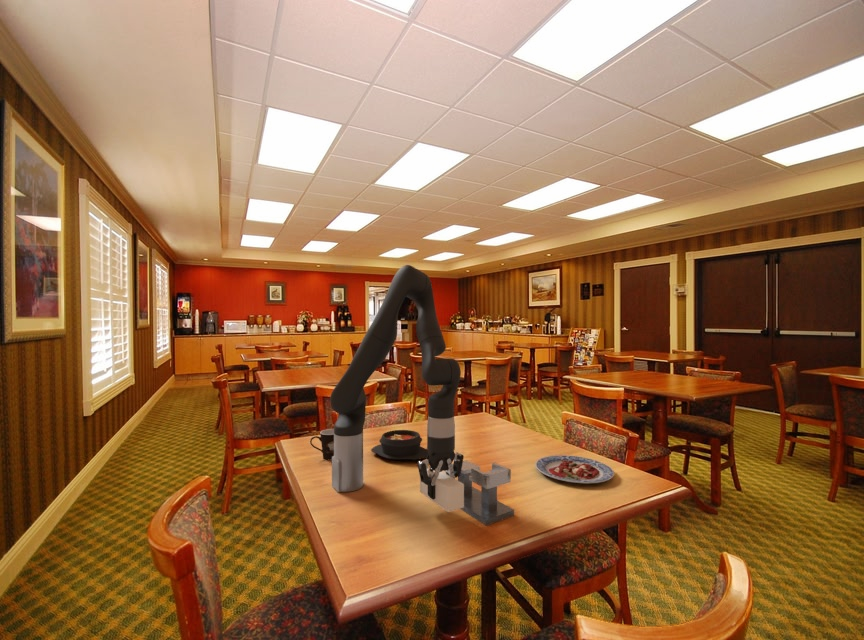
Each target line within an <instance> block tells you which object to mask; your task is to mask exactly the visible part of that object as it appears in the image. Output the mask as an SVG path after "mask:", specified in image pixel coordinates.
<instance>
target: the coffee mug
mask: <svg viewBox="0 0 864 640" xmlns="http://www.w3.org/2000/svg"><path fill="white" fill-rule="evenodd" d="M319 434H320V436H318V435H315V436H312V437H311V438H310V442H309V443H310V445H311V446H312V447H313V448H314V449H315V450H318V451H320V452H321V453H322V457H323V458H322V459H323V460H325V461H332V456H334V428H329V429H323V430H320V433H319ZM314 439H318V440H319V442H320V444H321V448H319V447H317V446H316V445H314V444H313V443H312V441H313V440H314Z"/></svg>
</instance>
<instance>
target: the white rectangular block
mask: <svg viewBox="0 0 864 640" xmlns="http://www.w3.org/2000/svg"><path fill="white" fill-rule="evenodd" d="M428 470H429V468H427V473H428ZM433 471H434V470H433ZM434 472H435V471H434ZM419 493H421V494H422V495H424V496H425V497H426V498H427V499H429V500H431V502H433V503H435V504H436V505H438V506H439V507H440V508H441V509H443V510H444V511H445V512H447V513H450V512H454V511H456V510H461V509H460V508H464V484H463V483H461V482H459V481H458V479H457V478H455V479H454V478H453V477H450V476H449V475H447V474H446V473H445V471H441V472H439V476H438V477H437V479H436V482H435V499H431V498H430V497H429V496H428V485H426V484H425V483H423V482H421V479H420V478H419Z"/></svg>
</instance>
